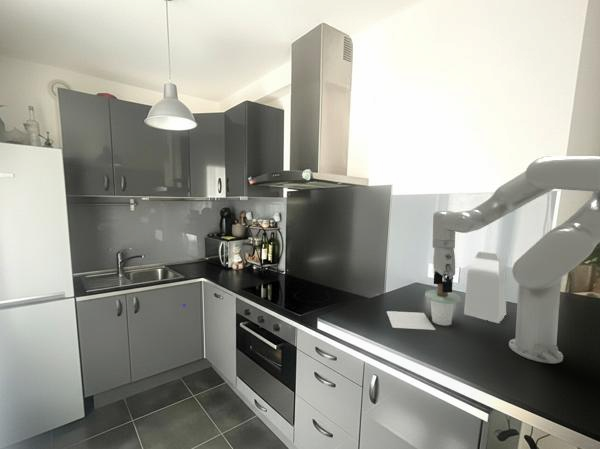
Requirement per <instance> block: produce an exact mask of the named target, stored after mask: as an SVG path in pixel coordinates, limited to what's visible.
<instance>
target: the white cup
mask: <svg viewBox="0 0 600 449" xmlns="http://www.w3.org/2000/svg"><path fill="white" fill-rule="evenodd" d="M454 305H455V303H454V304H446V303H439V302H435V301H432V300H430V307H431V308H430V311H431V322H432V323H434V324H436V325H438V326H439V325H440V326H447V327H448V326H451V325H452V321H453V317H454V316H453V315H454Z"/></svg>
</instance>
